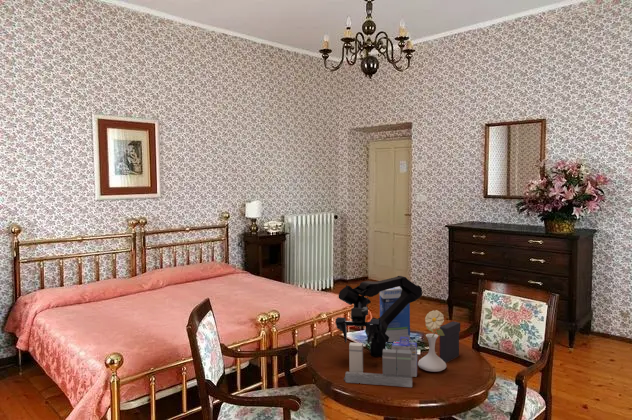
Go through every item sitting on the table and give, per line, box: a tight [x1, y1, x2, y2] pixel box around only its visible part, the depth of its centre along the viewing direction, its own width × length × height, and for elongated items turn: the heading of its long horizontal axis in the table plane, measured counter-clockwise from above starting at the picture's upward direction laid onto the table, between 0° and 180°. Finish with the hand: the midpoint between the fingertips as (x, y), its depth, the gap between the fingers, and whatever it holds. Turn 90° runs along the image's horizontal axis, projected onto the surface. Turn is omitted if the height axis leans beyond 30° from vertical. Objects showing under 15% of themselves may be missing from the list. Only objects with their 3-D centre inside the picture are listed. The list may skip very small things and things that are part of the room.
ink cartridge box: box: [391, 337, 418, 378], centre depth 189 cm, size 10×6×14 cm, turn 78°
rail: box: [343, 371, 413, 388], centre depth 182 cm, size 6×26×4 cm, turn 78°
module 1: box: [348, 342, 364, 373], centre depth 190 cm, size 4×5×12 cm
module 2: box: [381, 348, 396, 375], centre depth 182 cm, size 4×5×12 cm
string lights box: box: [379, 286, 411, 342], centre depth 228 cm, size 13×8×26 cm, turn 97°
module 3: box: [397, 350, 411, 376], centre depth 180 cm, size 4×5×12 cm
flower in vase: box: [417, 309, 447, 373], centre depth 192 cm, size 13×11×25 cm
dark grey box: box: [438, 320, 461, 364], centre depth 204 cm, size 11×4×15 cm, turn 134°
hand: (356, 343), depth 194 cm, fingers open, 9 cm apart
